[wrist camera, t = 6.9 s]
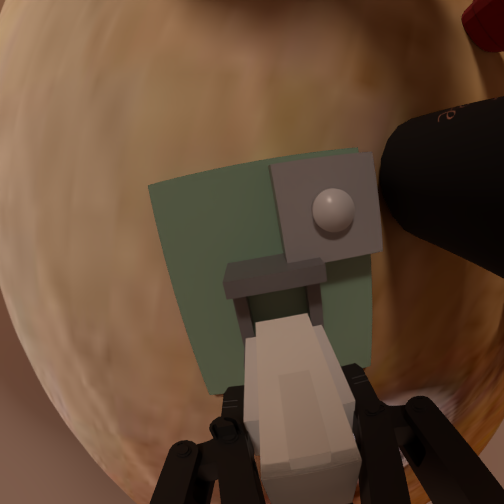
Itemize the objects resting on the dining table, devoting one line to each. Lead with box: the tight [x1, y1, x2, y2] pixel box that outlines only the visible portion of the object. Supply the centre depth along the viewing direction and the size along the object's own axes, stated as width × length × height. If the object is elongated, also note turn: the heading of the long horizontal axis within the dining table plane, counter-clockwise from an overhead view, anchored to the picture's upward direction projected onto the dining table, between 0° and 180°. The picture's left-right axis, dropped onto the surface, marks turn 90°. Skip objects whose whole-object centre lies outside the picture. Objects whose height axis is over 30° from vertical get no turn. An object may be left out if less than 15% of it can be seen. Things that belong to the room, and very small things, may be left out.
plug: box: [256, 313, 362, 504], centre depth 11 cm, size 5×3×10 cm, turn 11°
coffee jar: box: [380, 96, 504, 278], centre depth 12 cm, size 11×11×18 cm
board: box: [148, 147, 383, 395], centre depth 21 cm, size 20×16×6 cm
